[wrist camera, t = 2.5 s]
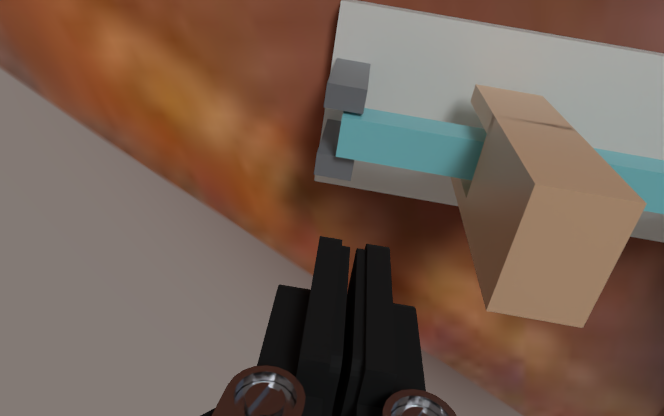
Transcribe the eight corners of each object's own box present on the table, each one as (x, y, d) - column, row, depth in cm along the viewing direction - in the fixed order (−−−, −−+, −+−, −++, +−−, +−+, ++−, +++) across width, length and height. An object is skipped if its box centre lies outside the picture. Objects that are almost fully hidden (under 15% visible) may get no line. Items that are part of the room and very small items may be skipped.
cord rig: (860, 87, 23) (1031, 143, 17) (752, 249, 28) (857, 340, 21) (342, -3, 23) (327, 20, 17) (316, 173, 28) (296, 241, 22)
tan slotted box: (542, 95, 22) (646, 203, 13) (510, 184, 25) (582, 327, 16) (475, 84, 22) (535, 183, 14) (449, 173, 25) (486, 310, 16)
